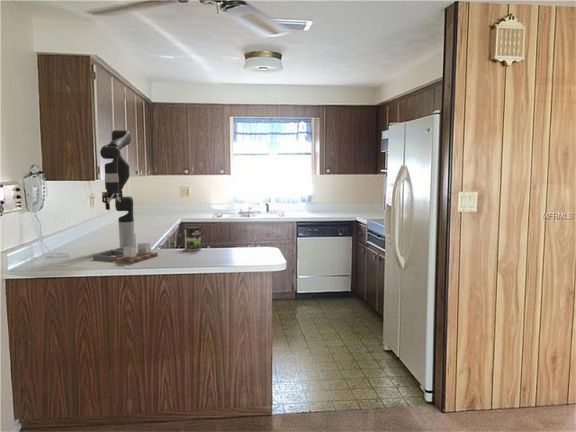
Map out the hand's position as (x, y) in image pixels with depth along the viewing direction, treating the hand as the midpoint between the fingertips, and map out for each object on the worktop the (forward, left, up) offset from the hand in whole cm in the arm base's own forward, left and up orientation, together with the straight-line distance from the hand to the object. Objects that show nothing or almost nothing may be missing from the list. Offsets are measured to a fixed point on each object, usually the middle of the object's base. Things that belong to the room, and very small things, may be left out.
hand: (113, 209), depth 275 cm
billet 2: (-1, +20, -27) cm, 34 cm away
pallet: (+5, +20, -28) cm, 35 cm away
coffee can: (-36, +30, -28) cm, 55 cm away
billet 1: (+11, +20, -27) cm, 35 cm away
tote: (+7, +5, -28) cm, 29 cm away
